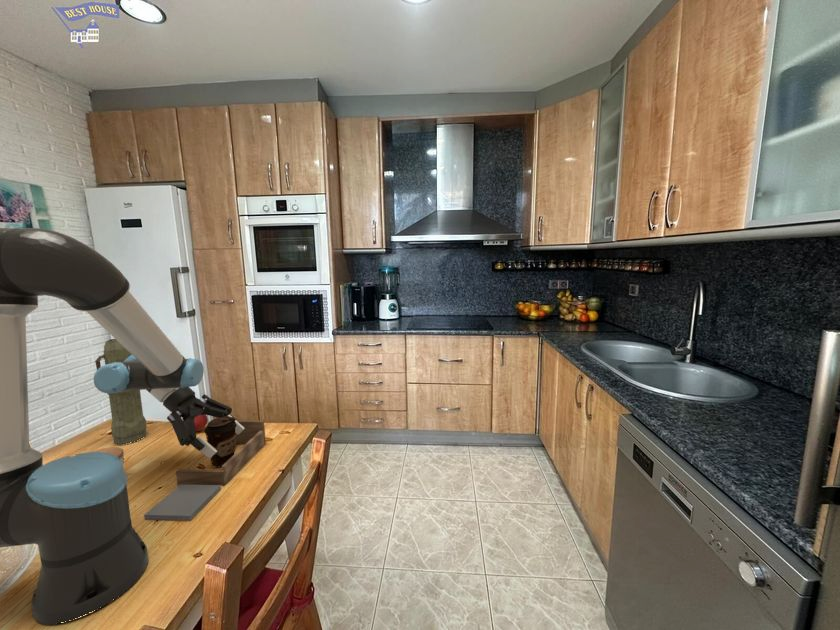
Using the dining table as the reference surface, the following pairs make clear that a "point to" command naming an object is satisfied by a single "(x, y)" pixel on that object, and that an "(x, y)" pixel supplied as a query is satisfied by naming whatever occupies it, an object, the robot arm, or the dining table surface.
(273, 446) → the dining table surface
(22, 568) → the dining table surface
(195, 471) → the u-shaped wooden frame
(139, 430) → the thermos
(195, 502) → the slate pad
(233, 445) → the coffee cup
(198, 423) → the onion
